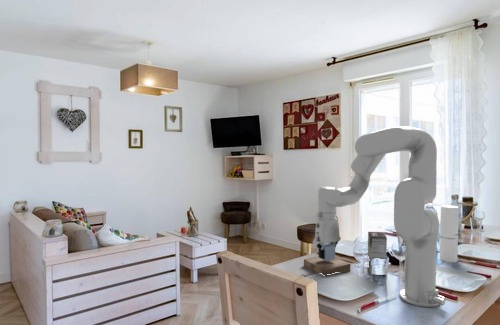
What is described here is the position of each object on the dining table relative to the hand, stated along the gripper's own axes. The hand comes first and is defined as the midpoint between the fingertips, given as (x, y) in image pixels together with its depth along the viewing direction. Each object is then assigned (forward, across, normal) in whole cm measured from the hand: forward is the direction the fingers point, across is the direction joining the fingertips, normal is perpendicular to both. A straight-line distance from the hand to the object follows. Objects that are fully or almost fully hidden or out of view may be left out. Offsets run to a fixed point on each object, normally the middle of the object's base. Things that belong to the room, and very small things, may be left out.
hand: (326, 256), depth 146 cm
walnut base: (+5, 0, 0) cm, 5 cm away
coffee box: (+5, +16, -13) cm, 21 cm away
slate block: (+1, 0, 0) cm, 1 cm away
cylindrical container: (+5, +57, -18) cm, 60 cm away
